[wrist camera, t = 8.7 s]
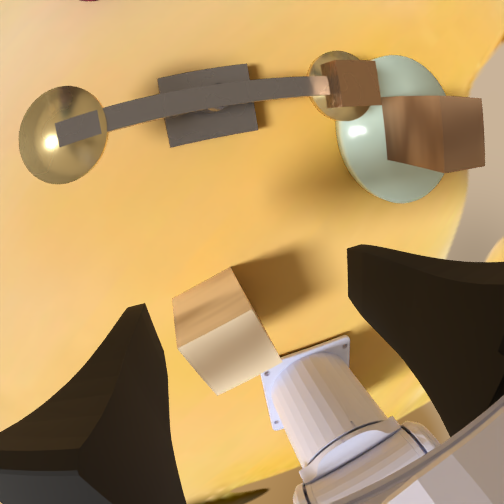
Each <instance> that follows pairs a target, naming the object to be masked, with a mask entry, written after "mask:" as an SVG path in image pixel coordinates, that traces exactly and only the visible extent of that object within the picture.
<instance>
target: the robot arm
mask: <svg viewBox="0 0 504 504" xmlns="http://www.w3.org/2000/svg"><path fill="white" fill-rule="evenodd" d="M347 262H348V297H349V299H350V300H351V301H352V303H353V304H354V306H355V307H356V309H357V310H358V311H359V313H360V314H361V315H362V317H363V318H364V319H365V320H366V321H367V322H368V323H369V324H370V325H371V326H372V327H373V328H374V329H375V330H376V331H377V332H378V333H379V334H380V335H381V336H382V337H383V338H384V340H385V341H386V342H387V343H388V344H389V345H390V346H391V347H392V348H393V349H394V350H395V351H396V352H397V353H398V354H399V355H400V356H401V358H402V359H403V360H404V361H405V363H406V364H407V365H408V367H409V368H410V369H411V371H412V372H413V373H414V375H415V376H416V378H417V379H418V381H419V382H420V384H421V385H422V387H423V388H424V390H425V391H426V393H427V394H428V396H429V398H430V399H431V401H432V403H433V404H434V406H435V408H436V410H437V411H438V413H439V415H440V417H441V419H442V421H443V423H444V425H445V427H446V429H447V431H448V433H449V435H450V438H449V439H448V440H446V441H445V442H443V443H442V444H440V443H439V442H438V441H437V439H436V438H435V437H434V436H433V434H432V433H431V432H430V431H429V430H428V429H427V428H426V427H424V426H423V425H422V424H420V423H418V422H411V421H405V422H404V423H402V424H401V425H399V423H398V422H397V421H396V420H395V418H394V417H393V416H391V417H389V418H387V416H386V415H385V414H384V413H383V411H382V410H381V409H380V407H379V406H378V405H377V404H376V402H375V401H374V400H373V398H372V397H371V396H370V394H369V393H368V392H367V391H366V389H365V388H364V387H363V385H362V384H361V383H360V382H359V380H358V379H357V378H356V376H355V375H354V374H353V372H352V371H351V370H350V369H349V358H350V338H349V337H348V336H347V335H343V336H340V337H337V338H335V339H332V340H329V341H327V342H324V343H321V344H318V345H315V346H313V347H310V348H307V349H304V350H301V351H298V352H295V353H292V354H289V355H286V356H283V357H280V358H281V360H282V363H280V364H278V365H276V366H275V367H273V368H271V369H269V370H267V371H268V372H267V371H265V372H267V373H265V372H263V373H261V374H260V375H261V379H262V384H263V389H264V393H265V398H266V402H267V407H268V411H269V416H270V420H271V425H272V428H273V430H280V429H283V428H284V430H285V432H286V434H287V436H288V438H289V441H290V443H291V445H292V447H293V449H294V451H295V454H296V456H297V458H298V460H299V462H300V464H301V466H302V468H303V469H301V470H300V471H299V473H300V476H301V478H302V480H303V483H301V484H299V485H297V486H296V488H295V493H294V495H293V504H504V262H462V261H453V260H444V259H437V258H432V257H426V256H421V255H416V254H411V253H406V252H402V251H397V250H393V249H388V248H383V247H378V246H372V245H362V244H361V245H358V246H354V247H351V248H347ZM344 344H345V345H344ZM343 345H344V346H343ZM0 502H1V503H2V504H186V500H185V497H184V493H183V490H182V486H181V482H180V478H179V474H178V470H177V466H176V461H175V456H174V451H173V446H172V441H171V433H170V419H169V396H168V374H167V368H166V362H165V356H164V350H163V348H162V346H161V343H160V341H159V338H158V336H157V333H156V331H155V328H154V326H153V323H152V320H151V318H150V315H149V313H148V310H147V307H146V304H145V303H144V304H140V305H136V306H132V307H128V308H127V309H126V310H125V312H124V313H123V314H122V316H121V317H120V318H119V320H118V321H117V323H116V324H115V326H114V327H113V328H112V330H111V331H110V333H109V334H108V335H107V337H106V338H105V340H104V341H103V342H102V344H101V345H100V346H99V347H98V349H97V350H96V351H95V353H94V354H93V355H92V356H91V358H90V359H89V360H88V361H87V363H86V364H85V365H84V366H83V367H82V368H81V369H80V371H79V372H78V373H77V374H76V375H75V376H74V377H73V378H72V379H71V380H70V381H69V382H68V383H67V384H66V385H65V386H64V387H62V388H61V389H60V390H59V391H58V392H57V393H56V394H54V395H53V396H52V397H51V398H50V399H49V400H48V401H46V402H45V403H44V404H43V405H41V406H40V407H39V408H37V409H36V410H35V411H33V412H32V413H31V414H29V415H28V416H26V417H25V418H23V419H22V420H20V421H19V422H17V423H15V424H14V425H12V426H10V427H9V428H7V429H5V430H3V431H2V432H0Z"/></svg>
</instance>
